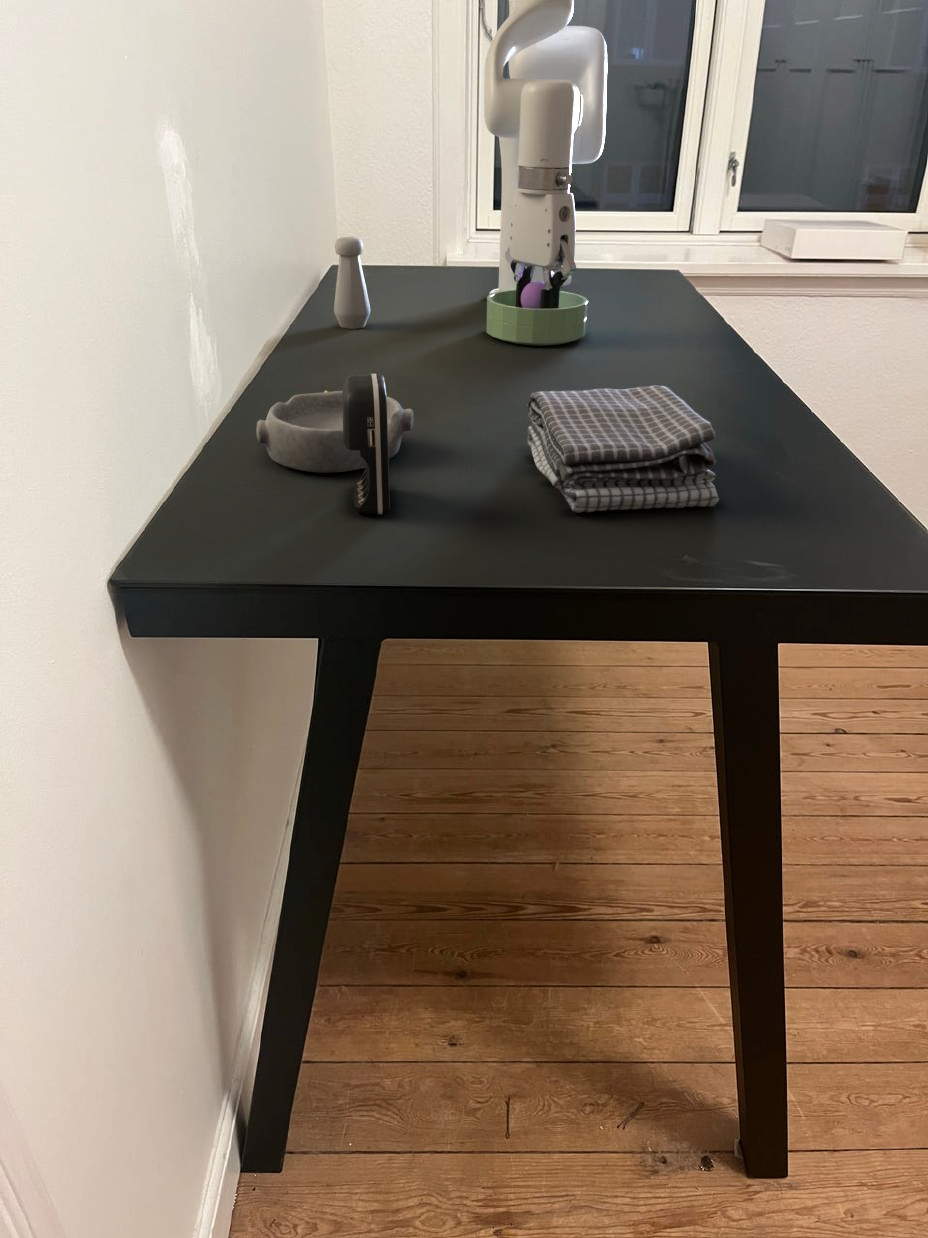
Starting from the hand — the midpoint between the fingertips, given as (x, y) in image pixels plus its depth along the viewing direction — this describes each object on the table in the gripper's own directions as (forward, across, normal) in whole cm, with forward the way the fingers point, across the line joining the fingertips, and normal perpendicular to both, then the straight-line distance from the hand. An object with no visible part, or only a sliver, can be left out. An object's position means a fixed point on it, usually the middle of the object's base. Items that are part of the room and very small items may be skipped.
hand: (536, 311), depth 139 cm
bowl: (+4, 0, 0) cm, 4 cm away
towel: (+4, -49, +33) cm, 59 cm away
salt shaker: (+4, +21, +20) cm, 29 cm away
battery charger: (+4, -40, +56) cm, 69 cm away
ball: (-2, 0, 0) cm, 2 cm away
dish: (+4, -27, +52) cm, 58 cm away
